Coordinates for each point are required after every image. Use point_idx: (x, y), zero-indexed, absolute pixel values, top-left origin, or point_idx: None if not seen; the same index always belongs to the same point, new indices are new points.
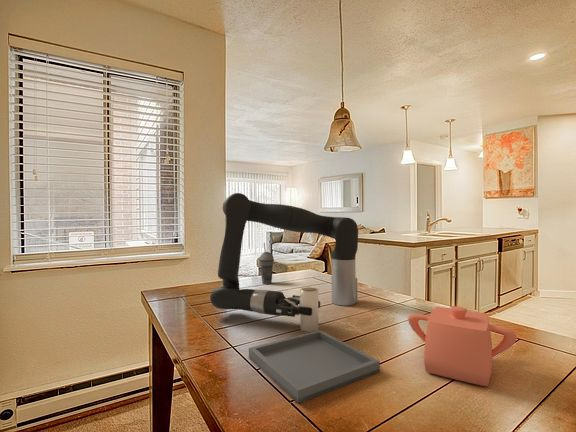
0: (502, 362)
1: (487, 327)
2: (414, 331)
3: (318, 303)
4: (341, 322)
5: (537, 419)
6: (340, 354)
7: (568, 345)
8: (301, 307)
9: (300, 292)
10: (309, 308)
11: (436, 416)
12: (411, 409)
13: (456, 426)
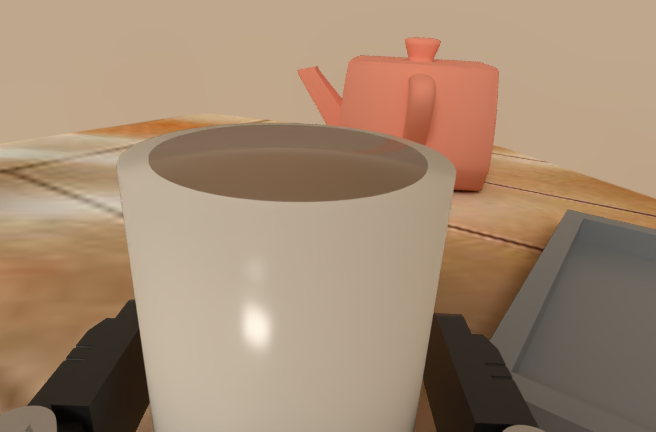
0: None
1: (454, 60)
2: (425, 128)
3: None
4: None
5: (507, 153)
6: (585, 300)
7: (234, 116)
8: (501, 403)
9: (397, 257)
10: (465, 323)
11: (623, 196)
12: (646, 212)
13: (621, 187)
